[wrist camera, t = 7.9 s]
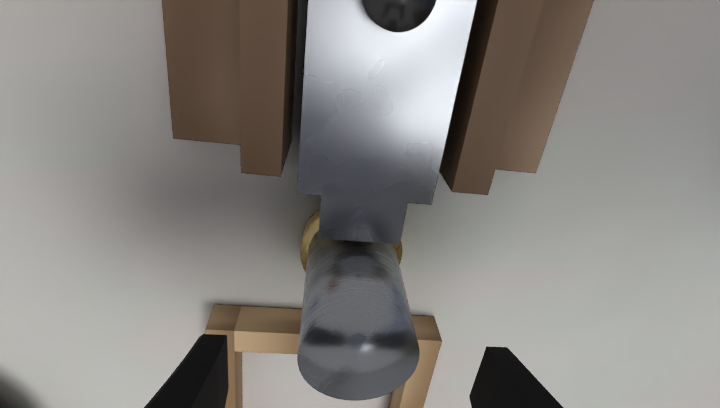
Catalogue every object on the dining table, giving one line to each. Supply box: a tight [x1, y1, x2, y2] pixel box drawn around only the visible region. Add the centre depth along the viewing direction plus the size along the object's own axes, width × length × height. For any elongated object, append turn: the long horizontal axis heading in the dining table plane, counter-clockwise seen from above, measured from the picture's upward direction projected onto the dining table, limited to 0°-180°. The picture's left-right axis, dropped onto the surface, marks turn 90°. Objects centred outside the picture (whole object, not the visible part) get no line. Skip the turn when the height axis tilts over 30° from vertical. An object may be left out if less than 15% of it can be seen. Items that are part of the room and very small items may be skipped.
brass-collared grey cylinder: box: [297, 209, 420, 400], centre depth 15 cm, size 4×4×6 cm
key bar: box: [297, 0, 477, 244], centre depth 13 cm, size 4×10×4 cm, turn 173°
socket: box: [162, 0, 594, 195], centre depth 13 cm, size 13×8×4 cm, turn 83°
